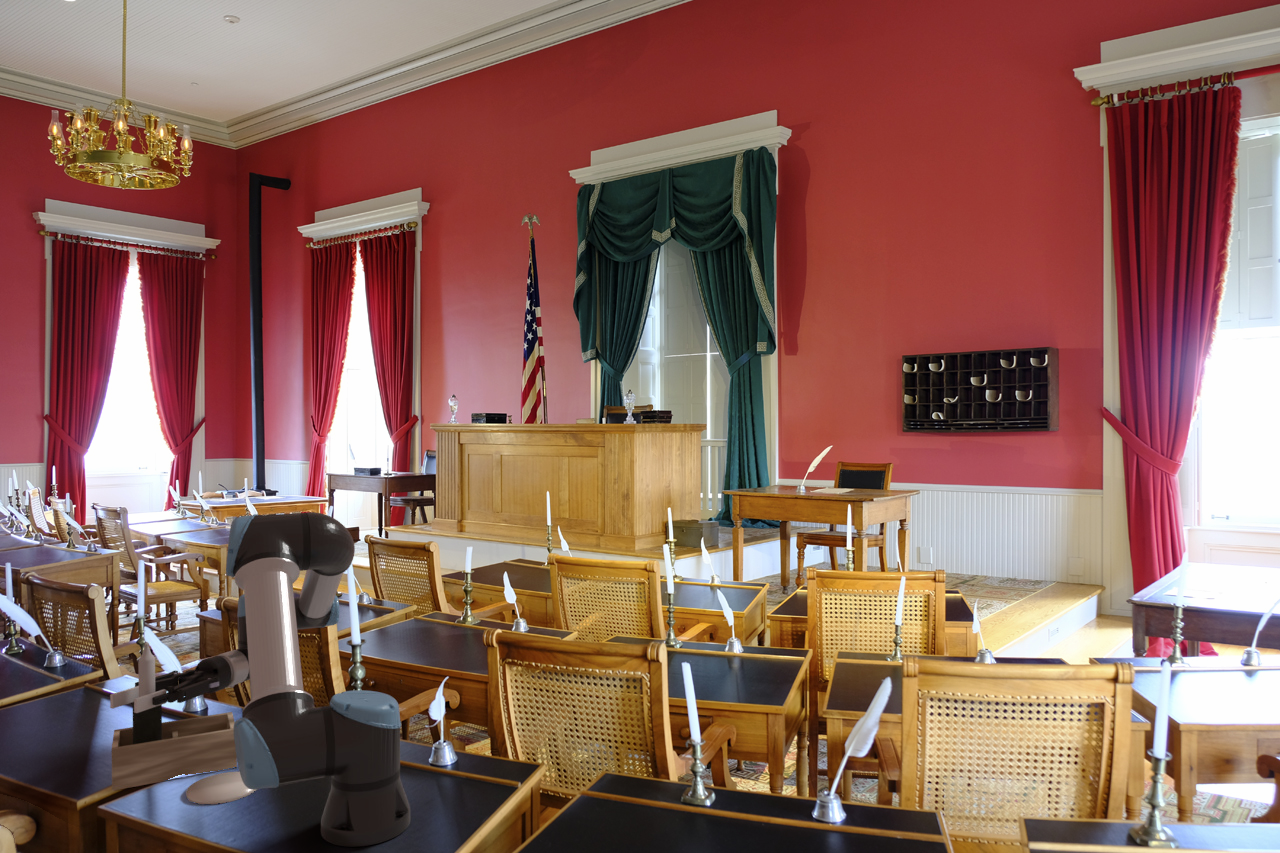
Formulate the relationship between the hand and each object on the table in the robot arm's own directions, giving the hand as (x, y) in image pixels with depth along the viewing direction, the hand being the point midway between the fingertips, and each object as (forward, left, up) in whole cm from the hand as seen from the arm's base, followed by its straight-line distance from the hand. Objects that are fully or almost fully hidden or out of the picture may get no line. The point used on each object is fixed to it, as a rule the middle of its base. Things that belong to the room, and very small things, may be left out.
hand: (123, 703), depth 171 cm
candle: (+3, -4, -14) cm, 15 cm away
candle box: (+3, -9, -16) cm, 18 cm away
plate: (-13, -17, -16) cm, 27 cm away
